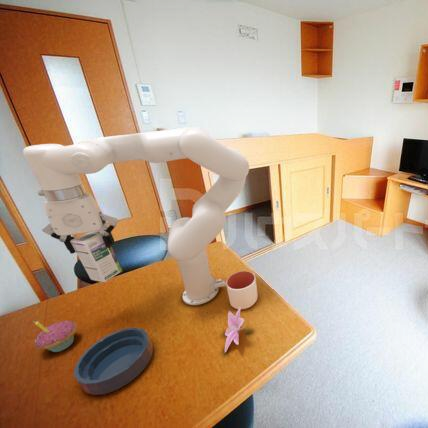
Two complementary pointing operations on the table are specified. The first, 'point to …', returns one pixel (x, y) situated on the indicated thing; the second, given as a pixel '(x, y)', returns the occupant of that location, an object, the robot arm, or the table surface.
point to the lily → (233, 328)
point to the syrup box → (96, 256)
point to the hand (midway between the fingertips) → (93, 247)
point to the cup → (242, 289)
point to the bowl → (114, 361)
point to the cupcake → (56, 336)
